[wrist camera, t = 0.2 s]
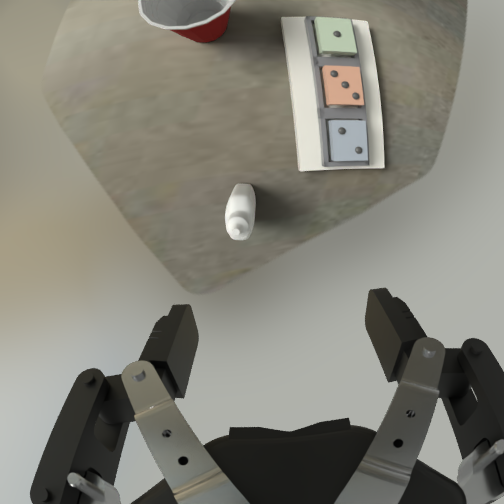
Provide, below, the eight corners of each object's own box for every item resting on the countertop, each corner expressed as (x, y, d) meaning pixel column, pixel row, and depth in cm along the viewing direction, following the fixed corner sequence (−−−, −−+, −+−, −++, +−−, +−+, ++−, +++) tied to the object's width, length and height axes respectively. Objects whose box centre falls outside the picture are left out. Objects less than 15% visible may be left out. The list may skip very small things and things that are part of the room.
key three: (321, 68, 27) (324, 65, 26) (355, 69, 27) (359, 66, 25) (326, 105, 29) (329, 104, 28) (360, 105, 29) (364, 104, 28)
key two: (328, 120, 30) (331, 120, 29) (361, 120, 30) (366, 120, 28) (331, 159, 32) (334, 161, 31) (363, 159, 32) (368, 160, 30)
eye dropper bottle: (267, 193, 38) (269, 219, 27) (247, 225, 40) (241, 263, 29) (239, 177, 37) (230, 197, 26) (220, 211, 40) (204, 244, 29)
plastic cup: (257, 5, 26) (255, -37, 16) (229, 65, 31) (215, 38, 20) (187, -8, 25) (162, -46, 14) (158, 50, 29) (121, 25, 19)
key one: (314, 21, 24) (316, 16, 23) (347, 23, 24) (350, 18, 23) (319, 53, 26) (322, 50, 25) (353, 55, 26) (357, 52, 25)
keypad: (280, 22, 28) (282, 13, 24) (362, 25, 27) (370, 18, 23) (298, 169, 37) (301, 173, 33) (378, 166, 36) (388, 169, 32)
